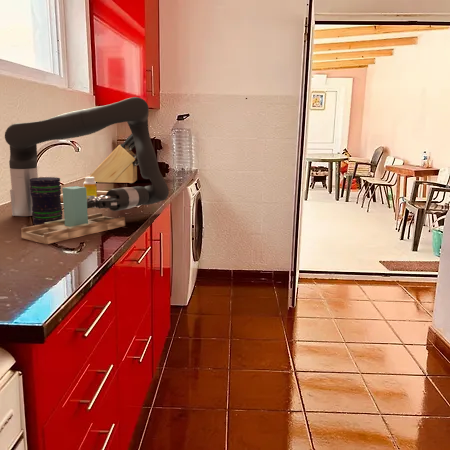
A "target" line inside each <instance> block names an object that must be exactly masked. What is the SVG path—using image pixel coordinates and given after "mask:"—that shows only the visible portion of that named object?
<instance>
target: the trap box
mask: <svg viewBox="0 0 450 450" xmlns="http://www.w3.org/2000/svg"><path fill="white" fill-rule="evenodd" d="M121 227H126V218H125V216H120V217H116V218H115V217H109V216H104V215H103V213H102V212H99V213H94V214H89V215H88V224H81V225H76V226H71V227H69V226H65V220H64V218H62V219H61V220H56V221H51V222H45V224H40V225H37V224H34V225H31V226H25V227H22V228H20V232H21V233H20V234H21V239H23V240H24V239H25V240H27V241H28V240H29V241H31V242H35V243H40V244H43V245H49V244H53V243H57V242H62V241H67V240H71V239H74V238H78V237H83V236H88V235H92V234H97V233H100V232H104V231H108V230H114V229H118V228H121Z"/></svg>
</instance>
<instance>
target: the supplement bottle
mask: <svg viewBox="0 0 450 450" xmlns="http://www.w3.org/2000/svg"><path fill="white" fill-rule="evenodd" d="M97 183H98V182H97ZM97 183H96V182H95V179H94V177H89V176H85V177H84V182H83V184H82V185H83V187H86V194H87V199H88V198H89V197H91V196H93V197H98V186H97Z"/></svg>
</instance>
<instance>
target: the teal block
mask: <svg viewBox="0 0 450 450" xmlns="http://www.w3.org/2000/svg"><path fill="white" fill-rule="evenodd" d="M61 191H62V201H63V219H64V220H65V226H69V227H71V226H76V225H81V224H88V214H89V213H88V209H87V194H86V187H84V186H78V185H74V186H67V187H65V186H64V187H61Z"/></svg>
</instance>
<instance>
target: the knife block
mask: <svg viewBox="0 0 450 450" xmlns="http://www.w3.org/2000/svg"><path fill="white" fill-rule="evenodd" d="M135 149H136V147H135V142H134V138H133V135H132V133H130V135H129V136H128V137H127V139H126V140H125V141H124V142H123V143H120V144H119V145H118V146H117V147H115V148H114V149H113V150H112V152H110V154H109V155H108V156H107V157H106V158H105V159H104V160H103V161H101V163H100V164H99V165H98V166H97V167H96V169H95V170H93V172H92V173H91V174H90V175H89V176H88V177H94V179H95V182H97V183H129V184H134V183H135V182H136V181H138V167H137V166H139V163H138V158H137V153H136V152H133V150H135Z"/></svg>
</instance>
